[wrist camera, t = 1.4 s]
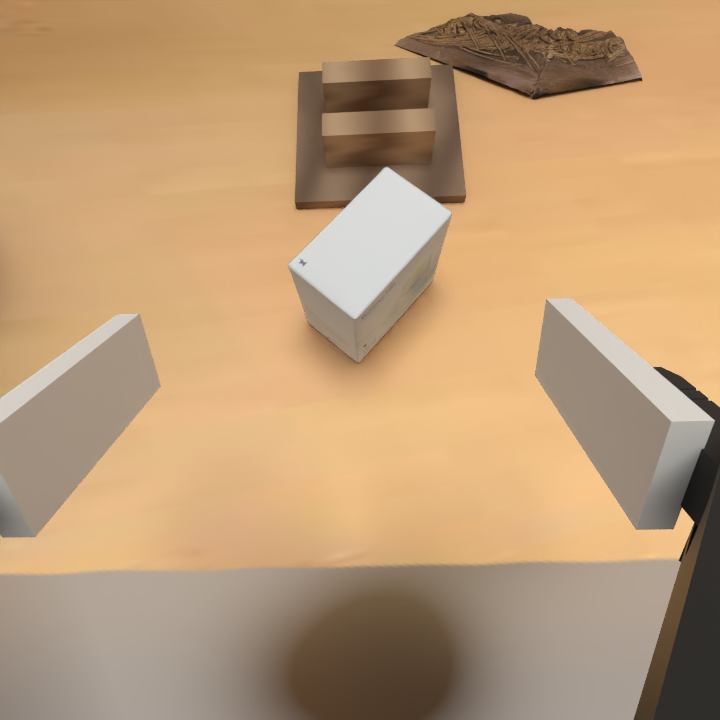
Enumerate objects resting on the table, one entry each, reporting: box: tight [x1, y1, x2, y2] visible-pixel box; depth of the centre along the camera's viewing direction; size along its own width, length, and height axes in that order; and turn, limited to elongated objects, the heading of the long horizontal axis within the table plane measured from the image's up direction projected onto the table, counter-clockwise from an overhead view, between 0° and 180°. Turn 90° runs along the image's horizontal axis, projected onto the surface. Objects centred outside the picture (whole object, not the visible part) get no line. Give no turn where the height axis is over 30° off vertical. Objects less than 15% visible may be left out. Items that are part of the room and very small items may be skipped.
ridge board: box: [295, 57, 466, 209], centre depth 43 cm, size 16×16×5 cm
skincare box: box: [288, 167, 452, 363], centre depth 35 cm, size 10×6×10 cm, turn 139°
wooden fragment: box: [395, 12, 642, 98], centre depth 47 cm, size 26×11×1 cm, turn 74°
